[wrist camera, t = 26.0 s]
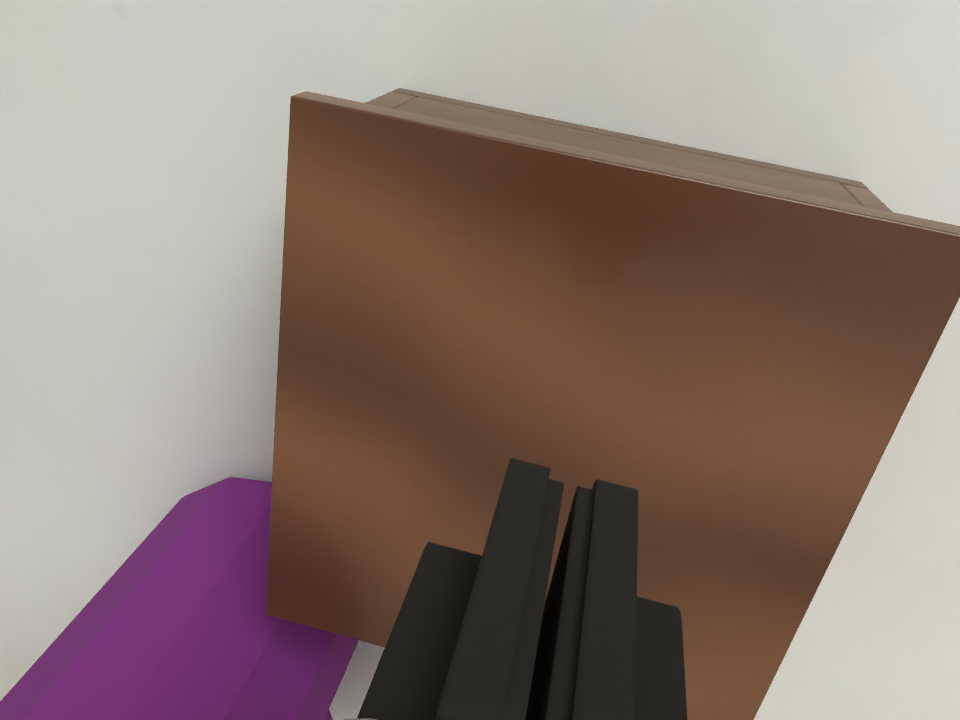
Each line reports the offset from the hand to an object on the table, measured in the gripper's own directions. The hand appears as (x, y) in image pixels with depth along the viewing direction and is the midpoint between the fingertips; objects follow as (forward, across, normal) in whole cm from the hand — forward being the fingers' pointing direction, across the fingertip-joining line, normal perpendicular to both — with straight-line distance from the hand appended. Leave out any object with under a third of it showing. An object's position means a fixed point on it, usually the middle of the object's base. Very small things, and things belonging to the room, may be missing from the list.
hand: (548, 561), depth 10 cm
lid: (+8, 0, +3) cm, 9 cm away
